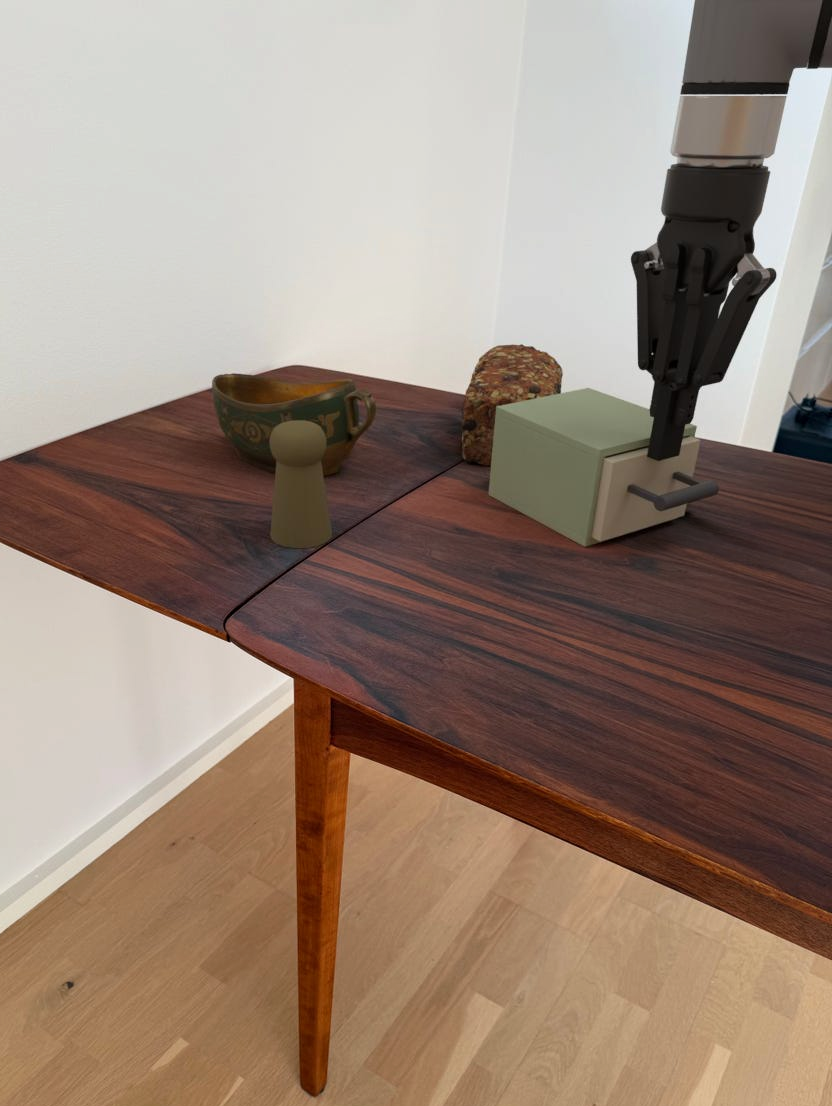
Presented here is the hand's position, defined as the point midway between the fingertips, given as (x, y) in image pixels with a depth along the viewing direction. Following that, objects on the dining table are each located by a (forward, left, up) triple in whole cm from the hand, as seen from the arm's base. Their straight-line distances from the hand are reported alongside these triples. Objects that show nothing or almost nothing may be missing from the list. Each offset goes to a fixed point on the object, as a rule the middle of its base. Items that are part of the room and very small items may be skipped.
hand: (662, 455), depth 80 cm
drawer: (+5, 0, -8) cm, 9 cm away
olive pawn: (+18, +28, -9) cm, 34 cm away
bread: (+28, -6, -9) cm, 30 cm away
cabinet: (+9, 0, -8) cm, 12 cm away
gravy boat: (+36, +20, -9) cm, 42 cm away
